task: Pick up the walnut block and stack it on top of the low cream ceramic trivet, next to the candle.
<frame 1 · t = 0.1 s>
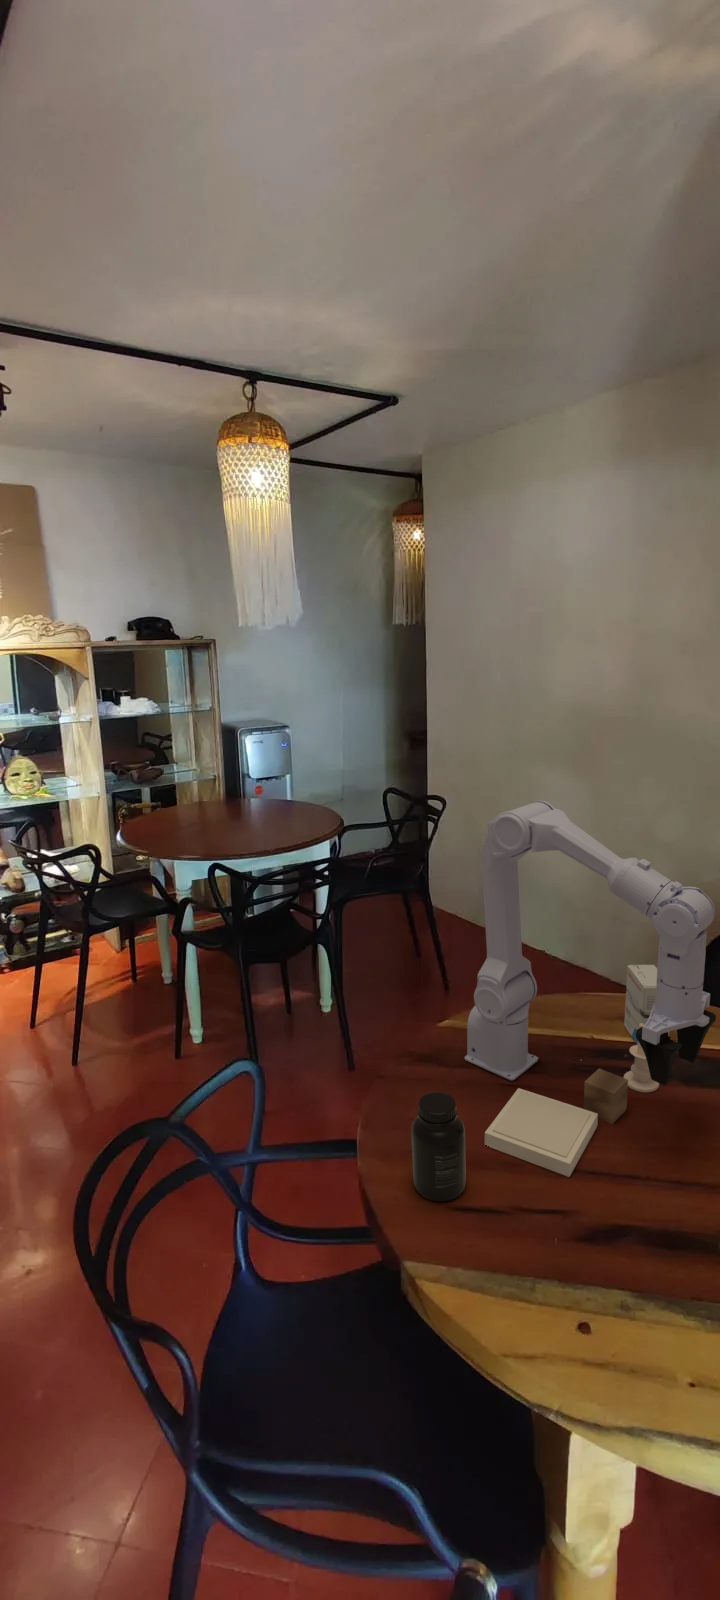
hand: (673, 1070, 104), 10 cm above the table, fingers open, 7 cm apart
trivet: (541, 1135, 107), on the table
block: (605, 1110, 112), on the table
candle: (641, 1083, 119), on the table
supplement bottle: (439, 1185, 99), on the table
ink box: (645, 1038, 131), on the table
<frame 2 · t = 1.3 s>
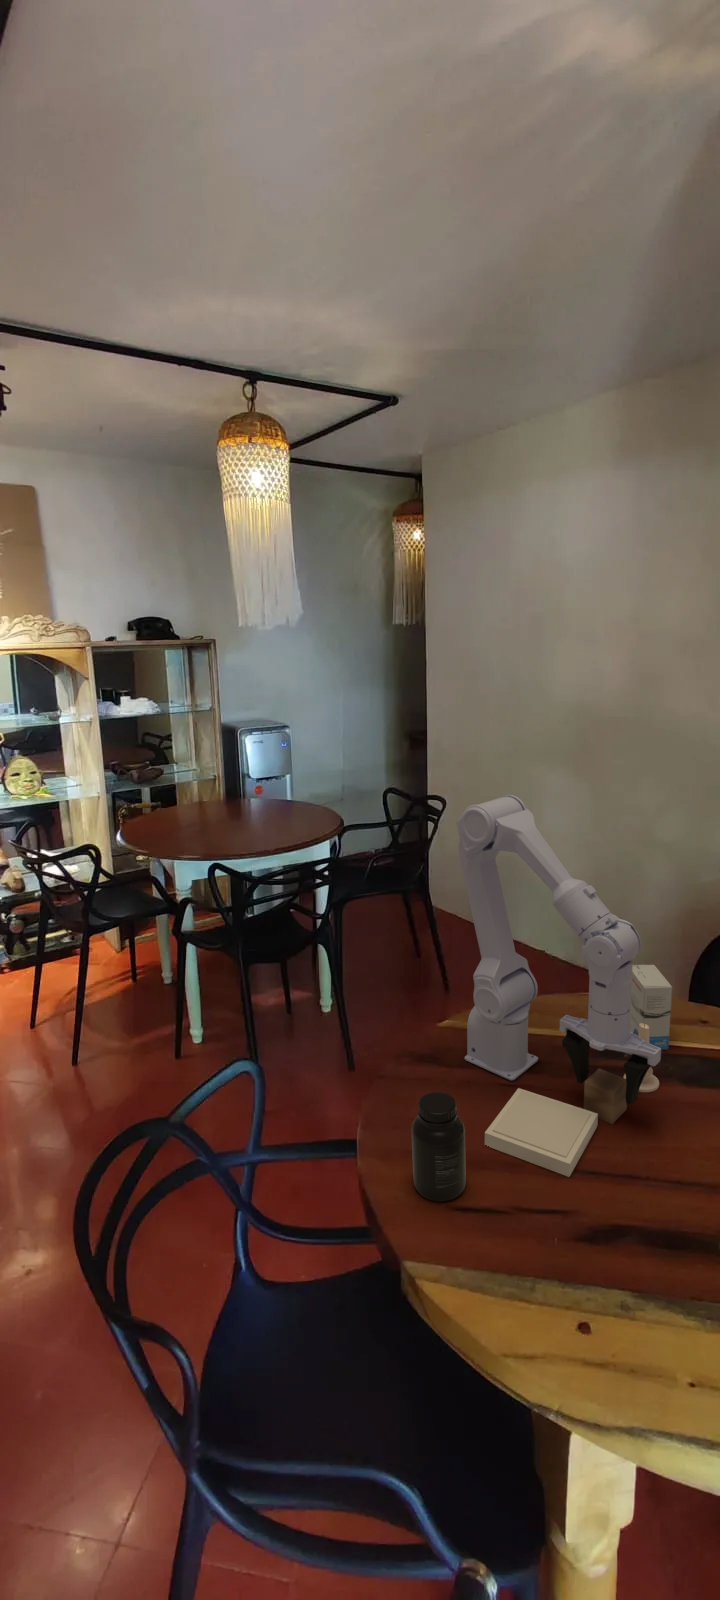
hand: (606, 1090, 111), 3 cm above the table, fingers open, 7 cm apart
nothing on the table moved.
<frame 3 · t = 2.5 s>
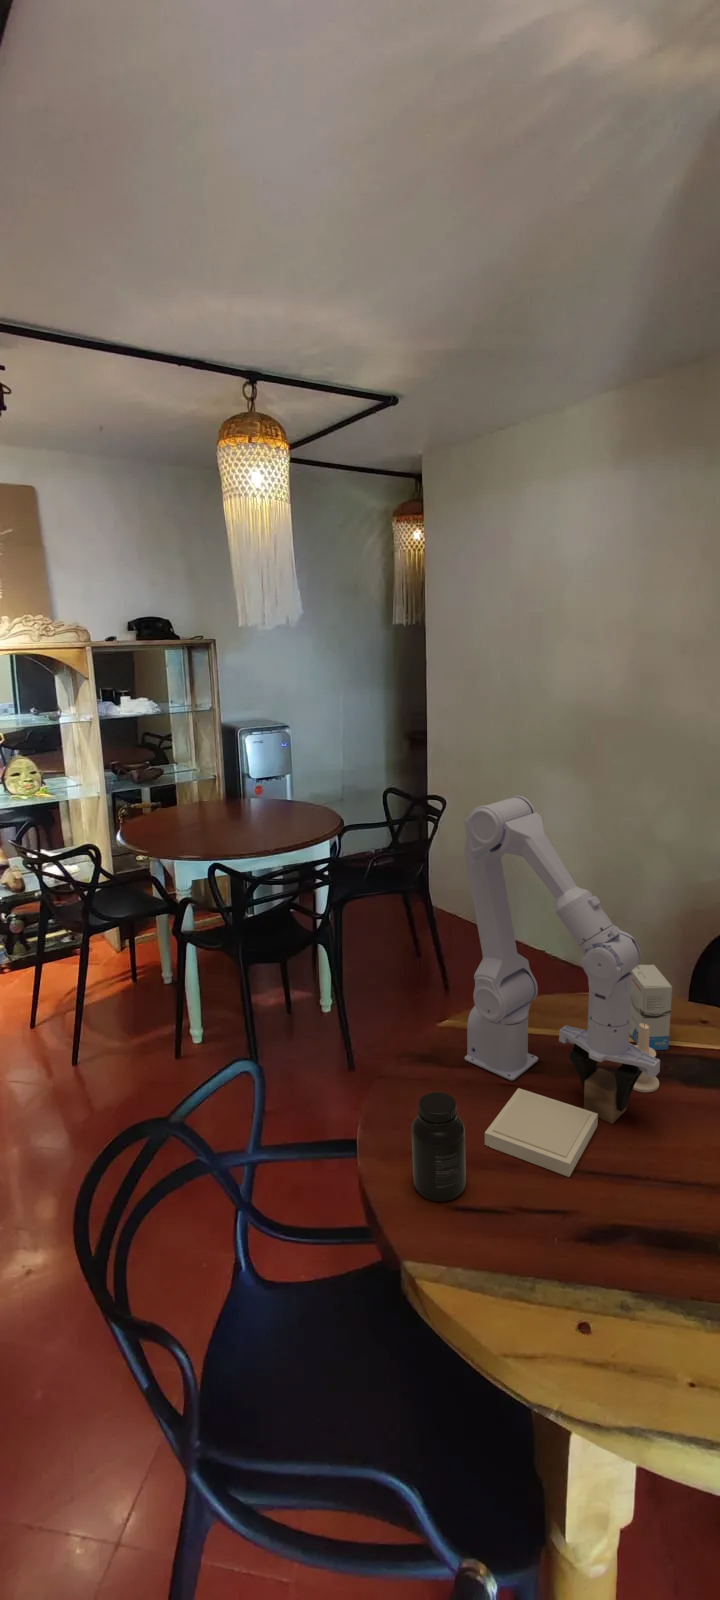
hand: (605, 1100, 112), 2 cm above the table, fingers closed on block, 4 cm apart
block: (605, 1110, 112), on the table, touching gripper
everything else where it was.
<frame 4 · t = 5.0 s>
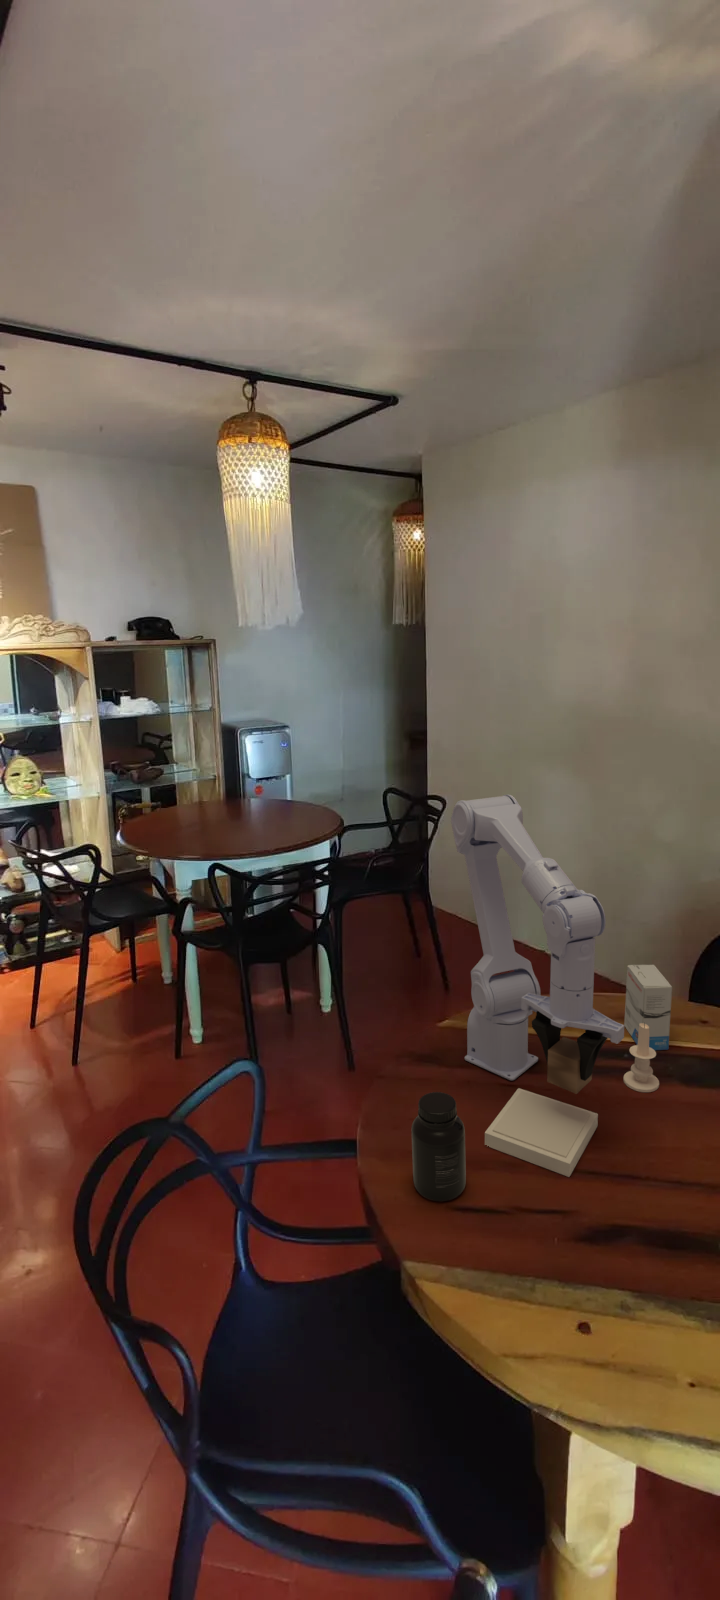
hand: (569, 1070, 107), 9 cm above the table, fingers closed on block, 4 cm apart
block: (569, 1080, 108), point 7 cm above the table, touching gripper
everything else where it was.
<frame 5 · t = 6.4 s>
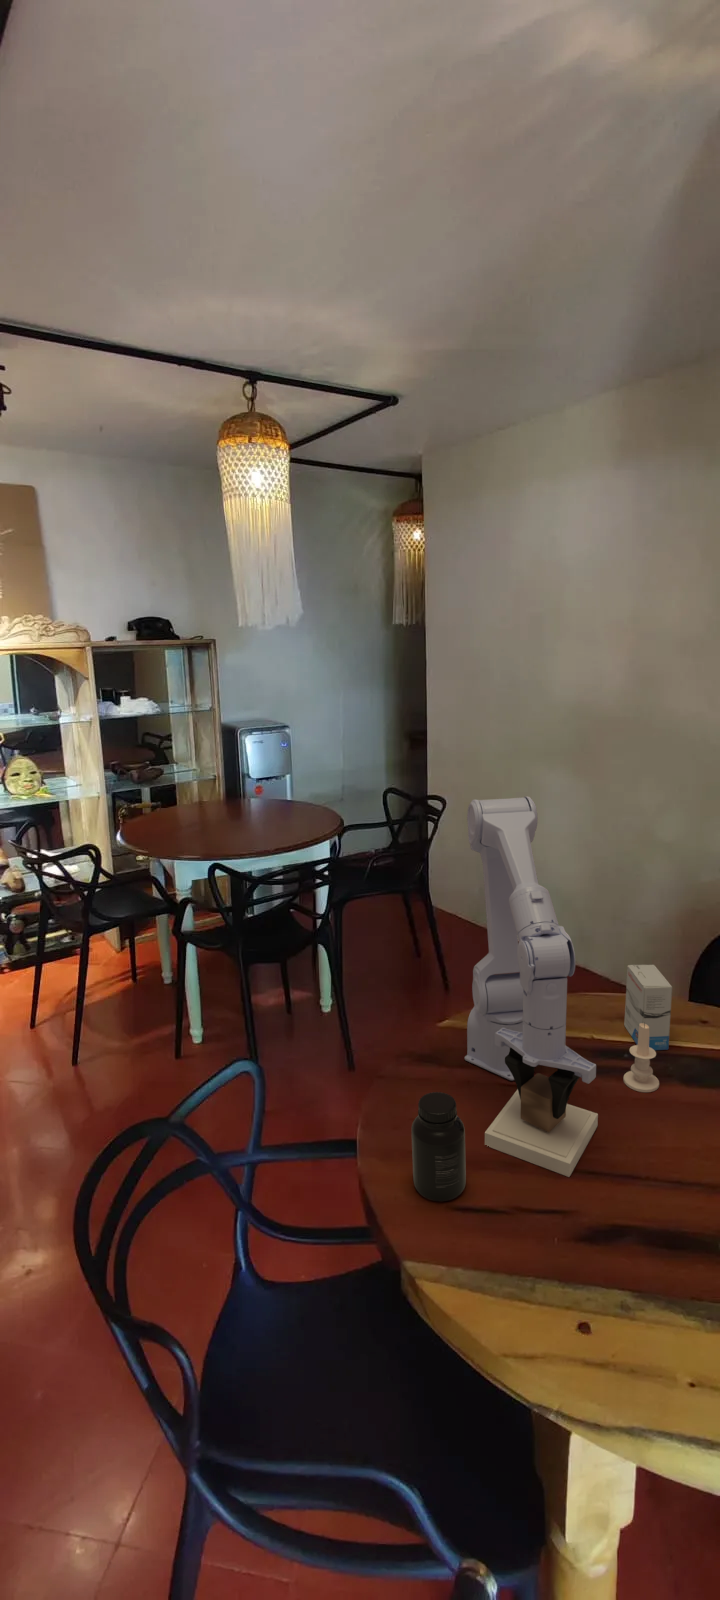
hand: (542, 1107, 106), 5 cm above the table, fingers closed on block, 4 cm apart
block: (543, 1117, 107), point 3 cm above the table, touching gripper
everything else where it was.
when the fingers open (4 cm above the table, at t = 7.4 s): block stays where it is, resting on trivet.
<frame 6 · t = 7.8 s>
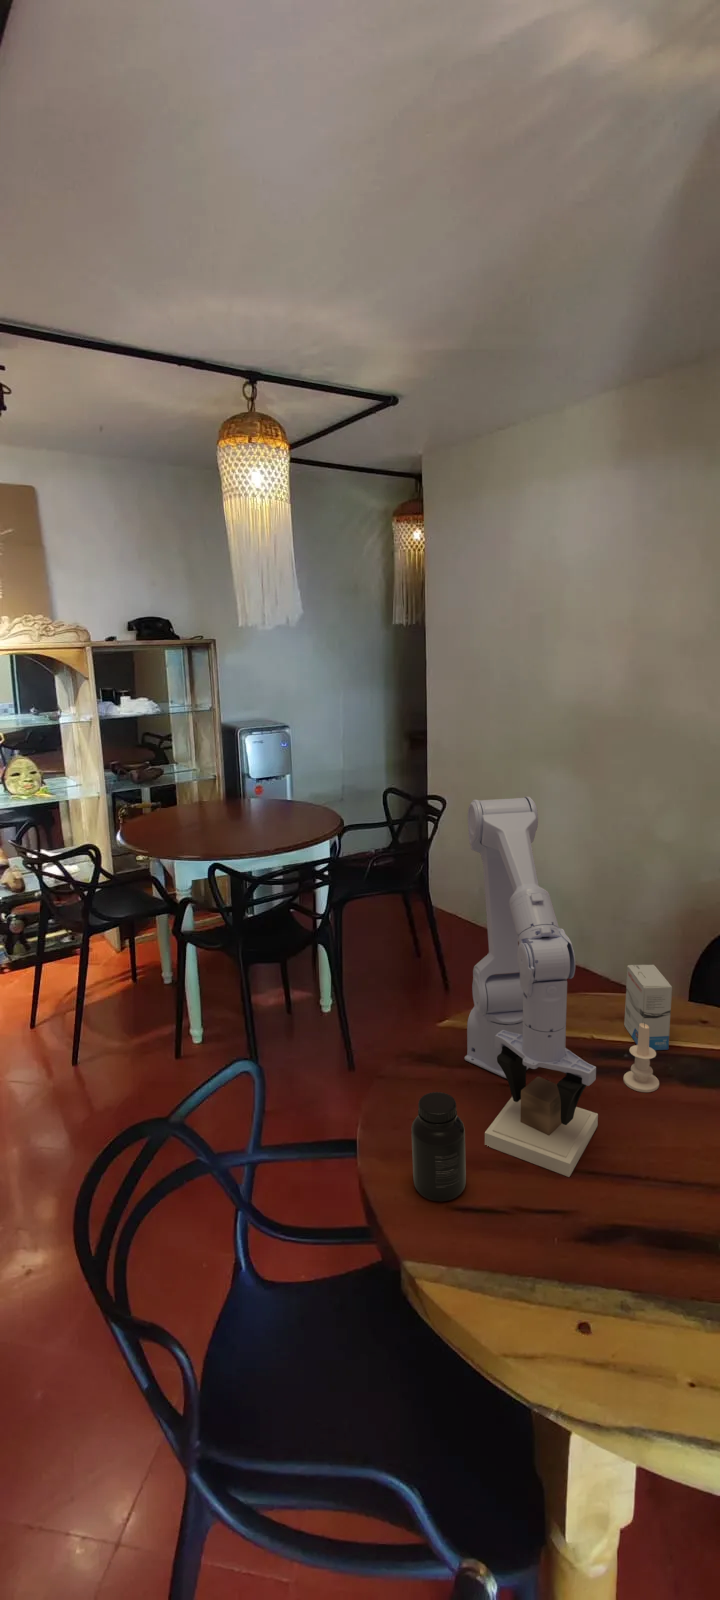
hand: (542, 1109, 106), 4 cm above the table, fingers open, 7 cm apart
block: (543, 1120, 107), point 2 cm above the table, touching trivet
everything else where it was.
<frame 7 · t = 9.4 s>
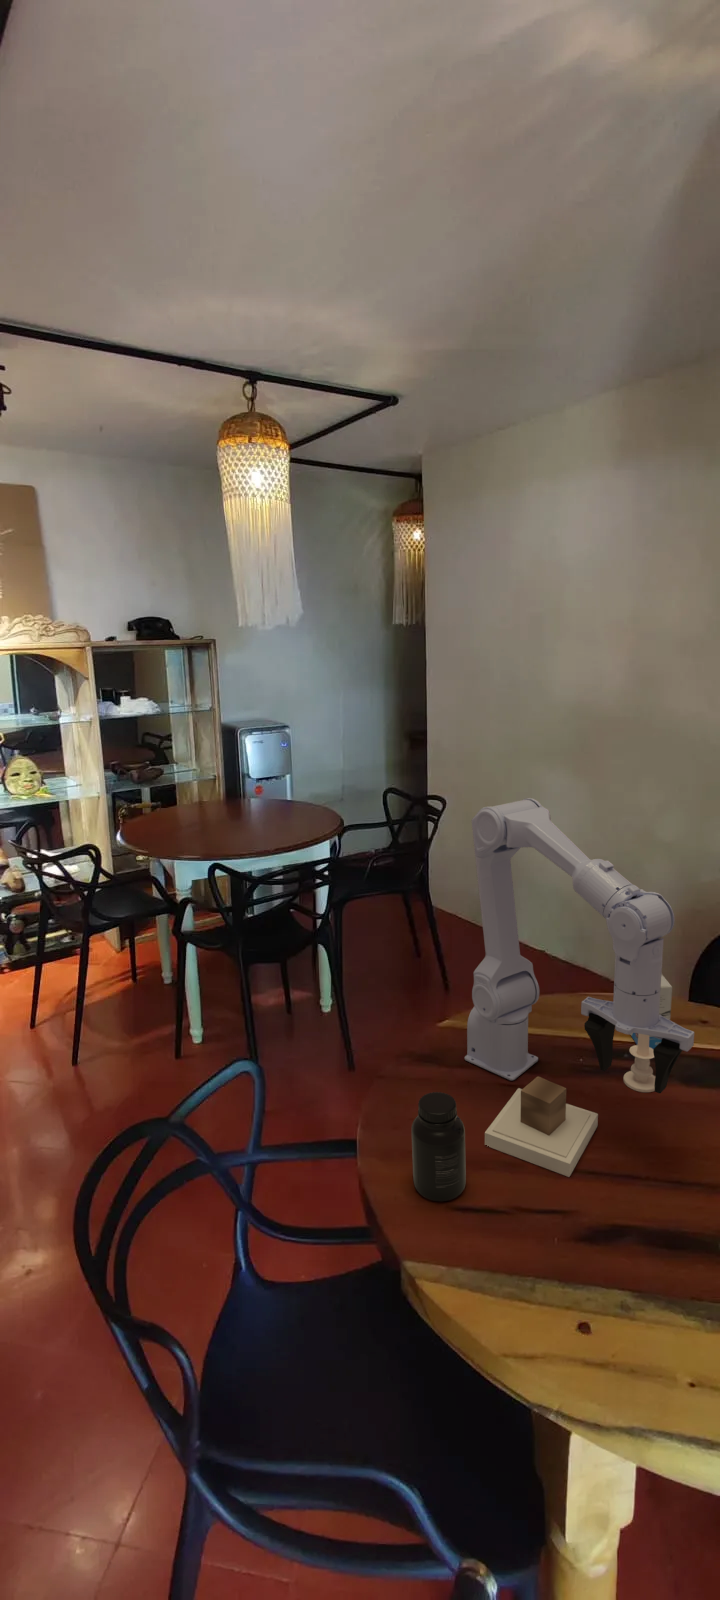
hand: (632, 1078, 102), 10 cm above the table, fingers open, 7 cm apart
nothing on the table moved.
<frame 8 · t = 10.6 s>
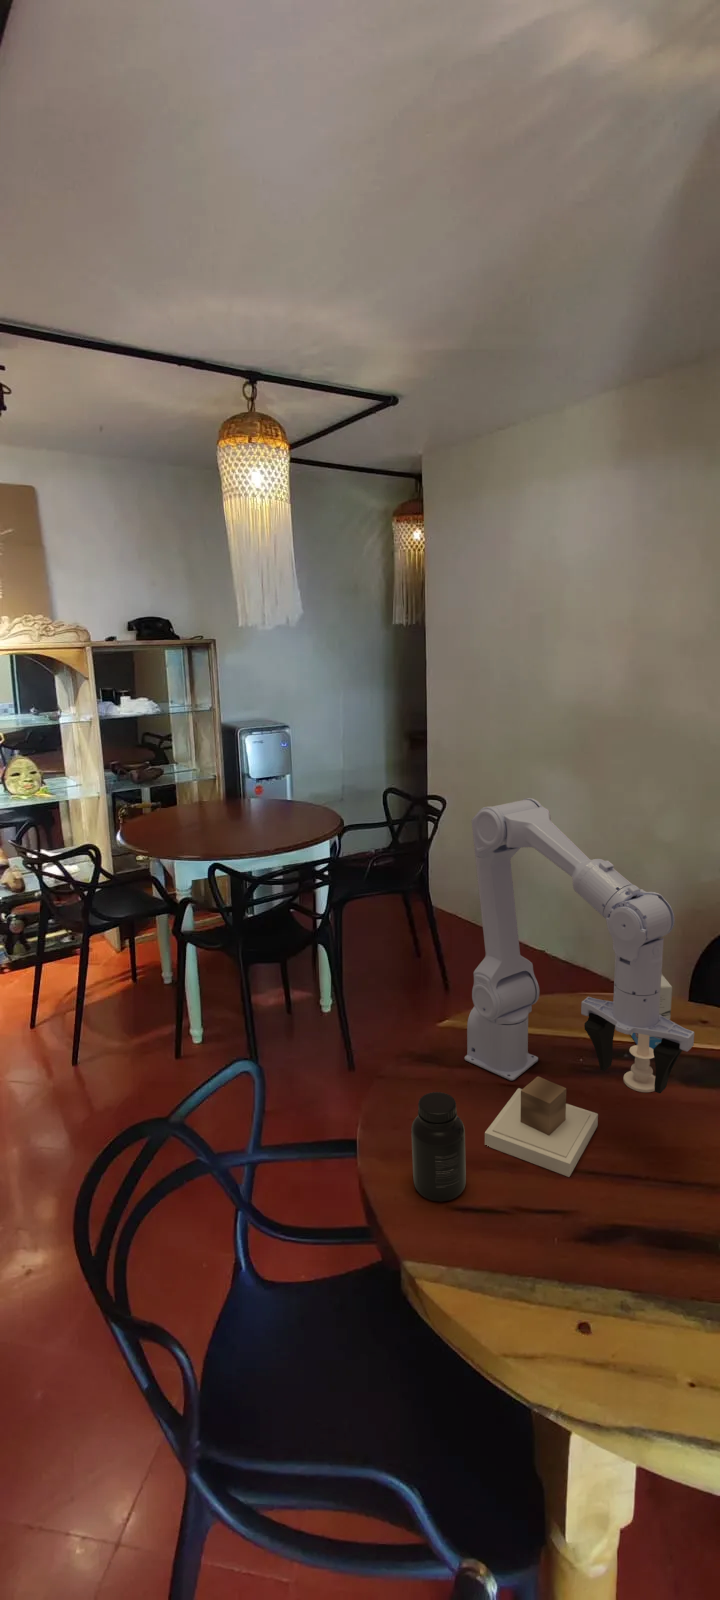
hand: (632, 1078, 102), 10 cm above the table, fingers open, 7 cm apart
nothing on the table moved.
at the end: block inside the target area on the trivet (0.2 cm from its centre), point 2.2 cm above the trivet's base; block tilted 0°; the gripper is holding nothing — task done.
